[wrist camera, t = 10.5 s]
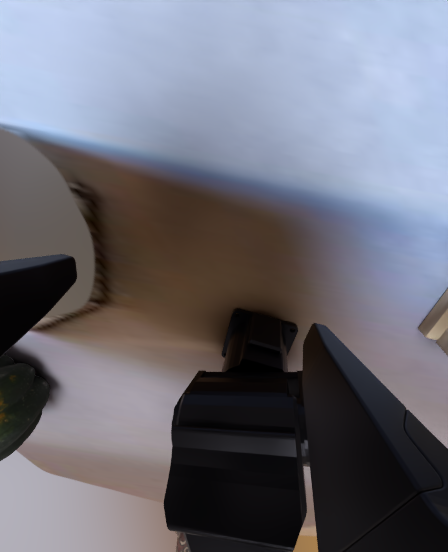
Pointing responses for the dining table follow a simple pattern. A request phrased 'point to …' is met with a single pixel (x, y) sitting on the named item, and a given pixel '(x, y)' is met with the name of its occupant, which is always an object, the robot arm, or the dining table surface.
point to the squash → (19, 403)
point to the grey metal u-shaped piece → (437, 323)
